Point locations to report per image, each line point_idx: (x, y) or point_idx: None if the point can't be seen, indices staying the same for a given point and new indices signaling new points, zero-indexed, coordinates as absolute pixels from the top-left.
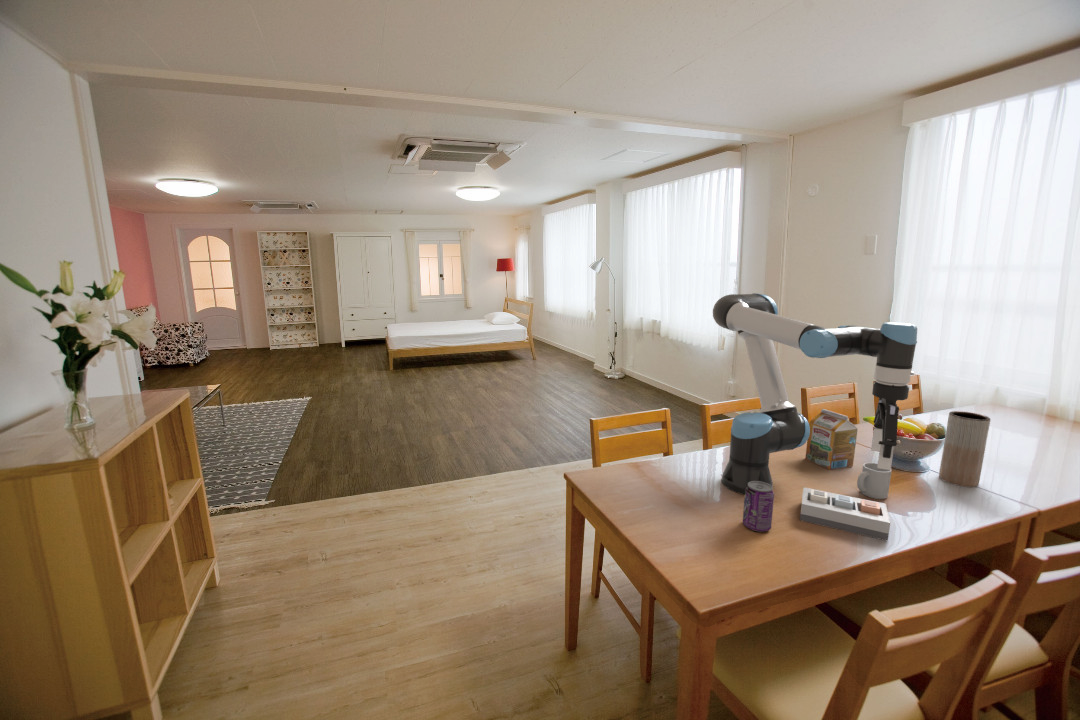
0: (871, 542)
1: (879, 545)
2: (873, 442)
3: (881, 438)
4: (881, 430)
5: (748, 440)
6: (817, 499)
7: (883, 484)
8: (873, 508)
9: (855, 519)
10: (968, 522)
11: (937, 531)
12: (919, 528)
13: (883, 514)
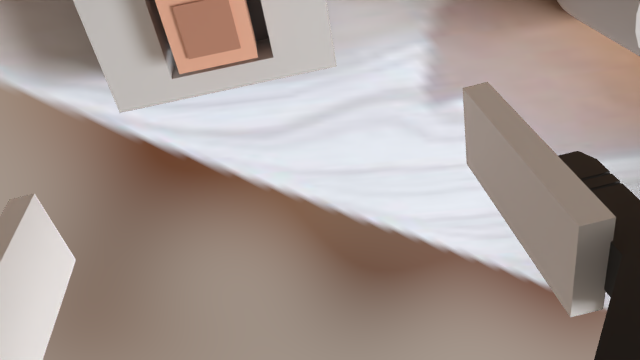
0: (58, 28)
1: (60, 57)
2: (497, 134)
3: (520, 219)
4: (567, 274)
5: None
6: None
7: (595, 23)
8: (171, 45)
9: None
10: (488, 241)
11: (354, 187)
12: (339, 145)
13: (195, 77)
